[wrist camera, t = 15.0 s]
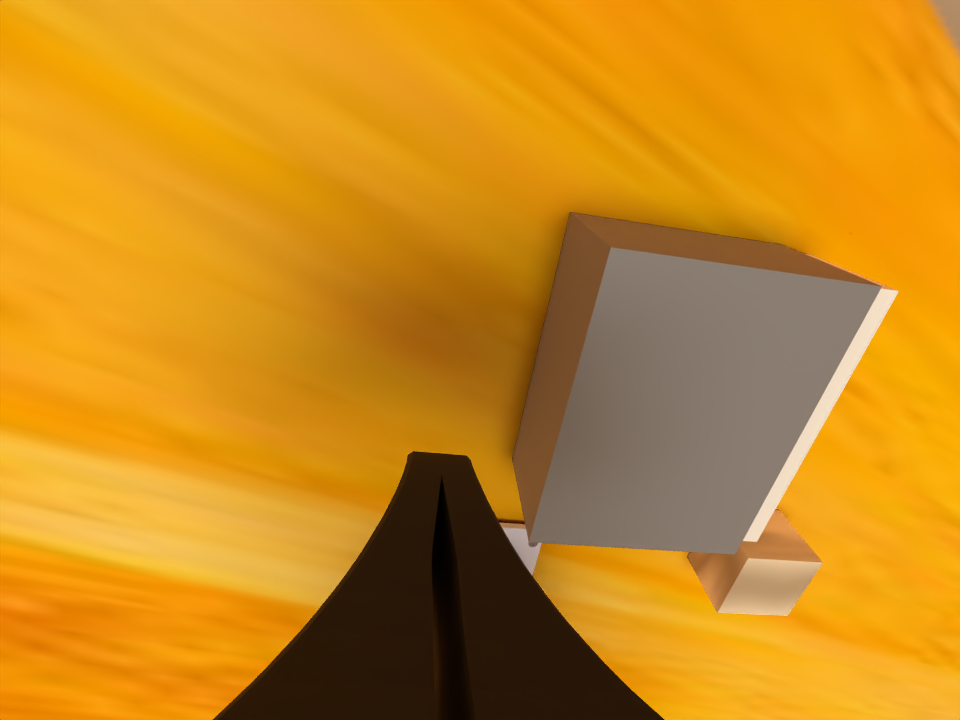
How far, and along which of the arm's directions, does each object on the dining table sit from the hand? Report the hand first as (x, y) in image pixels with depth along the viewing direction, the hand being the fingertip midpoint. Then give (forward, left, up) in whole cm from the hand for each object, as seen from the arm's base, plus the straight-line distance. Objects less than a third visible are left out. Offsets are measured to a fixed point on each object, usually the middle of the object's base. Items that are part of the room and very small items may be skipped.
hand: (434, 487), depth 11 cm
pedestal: (-11, -18, -10) cm, 24 cm away
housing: (-1, -10, -10) cm, 14 cm away
